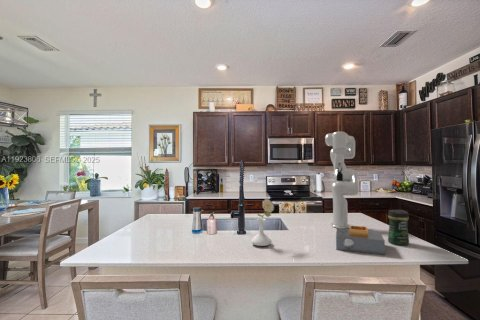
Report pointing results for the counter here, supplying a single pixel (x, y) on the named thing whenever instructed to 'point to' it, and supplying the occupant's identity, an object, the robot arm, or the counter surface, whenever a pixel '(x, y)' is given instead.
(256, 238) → the flower in vase
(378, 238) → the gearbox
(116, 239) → the counter surface
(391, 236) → the coffee jar
